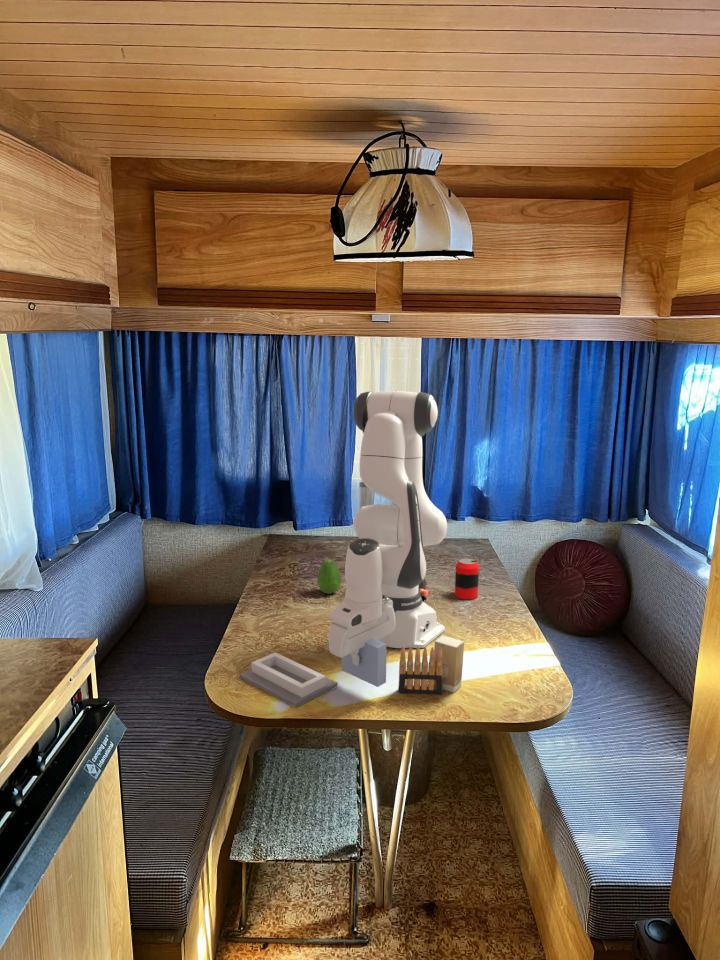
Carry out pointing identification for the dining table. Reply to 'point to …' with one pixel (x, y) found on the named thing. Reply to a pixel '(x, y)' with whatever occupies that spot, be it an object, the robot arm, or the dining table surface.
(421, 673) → the ammunition clip
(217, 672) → the dining table surface
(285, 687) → the track base
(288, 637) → the dining table surface
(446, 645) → the skincare box
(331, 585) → the avocado
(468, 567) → the soda can
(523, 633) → the dining table surface
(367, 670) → the door panel
